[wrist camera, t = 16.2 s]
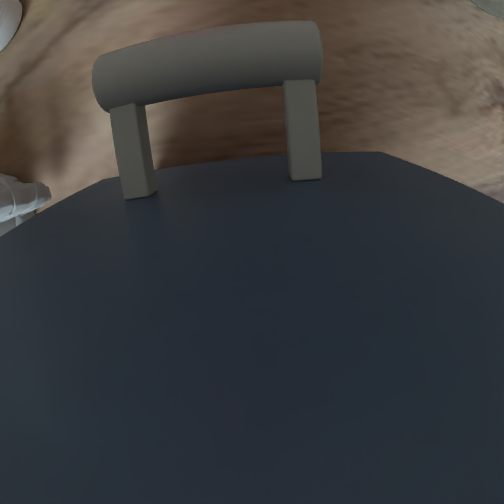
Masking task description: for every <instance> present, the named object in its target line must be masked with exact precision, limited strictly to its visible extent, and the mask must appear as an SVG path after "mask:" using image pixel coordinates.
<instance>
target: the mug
mask: <svg viewBox="0 0 504 504" xmlns="http://www.w3.org/2000/svg"><path fill="white" fill-rule="evenodd" d="M50 199H51V193H50V190H49V187H47V186H45V185H44V184H43V183H40V182H34V183H22V182H18V178H16V177H14V176H10V175H5V174H2V173H0V237H1V236H2V235H4V234H5V233H7V232H8V231H10V230H12V229H13V228H15V227H16V226H18V225H20V224H21V223H23V222H25V221H26V220H28V219H30V218H31V217H33V216H35V213H34V210H35V209H38V208H40V207H42V206H43V205H45V204H46V203H47V201H49V200H50Z"/></svg>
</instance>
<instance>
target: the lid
mask: <svg viewBox="0 0 504 504" xmlns="http://www.w3.org/2000/svg"><path fill="white" fill-rule="evenodd" d="M322 74H323V47H322V40H321V35H320V32H319V29H318V26H317V24H316V23H315V22H314V21H310V20H303V21H271V22H256V23H245V24H236V25H228V26H220V27H213V28H207V29H201V30H195V31H190V32H185V33H180V34H175V35H170V36H166V37H162V38H158V39H154V40H150V41H146V42H142V43H139V44H135V45H132V46H128V47H125V48H122V49H119V50H115V51H112V52H109V53H106V54H103V55H101V56H99V57H98V58H97V59H96V61H95V63H94V66H93V70H92V86H93V91H94V94H95V97H96V99H97V102H98V103H99V105H100V107H101V108H102V109H103V110H104V111H106V112H108V113H110V119H111V126H112V133H113V140H114V146H115V153H116V159H117V164H118V170H119V176H118V177H113V178H108V179H103V180H101V181H99V182H97V183H95V184H93V185H91V186H89V187H87V188H85V189H83V190H81V191H79V192H77V193H75V194H73V195H71V196H69V197H67V198H65V199H63V200H62V201H60V202H58V203H56V204H54V205H52V206H51V207H49V208H47V209H45V210H43V211H42V212H40V213H38V214H36V215H35V216H33V217H31V218H30V219H28V220H26V221H25V222H23V223H21V224H20V225H18V226H16V227H15V228H13V229H12V230H10V231H8V232H7V233H5V234H4V235H2V236H1V237H0V504H504V204H503V203H501V202H499V201H497V200H495V199H493V198H491V197H489V196H487V195H485V194H483V193H481V192H479V191H477V190H475V189H472V188H470V187H468V186H466V185H464V184H461V183H459V182H457V181H455V180H452V179H450V178H448V177H445V176H443V175H441V174H438V173H436V172H433V171H431V170H428V169H426V168H423V167H421V166H418V165H416V164H413V163H410V162H408V161H405V160H402V159H400V158H397V157H394V156H391V155H388V154H385V153H382V152H331V153H321V147H320V132H319V118H318V106H317V95H316V85H317V84H319V83H320V81H321V78H322ZM274 86H281V87H282V97H283V108H284V118H285V130H286V141H287V154H288V155H276V156H264V157H252V158H242V159H232V160H223V161H215V162H207V163H199V164H191V165H184V166H177V167H171V168H164V169H158V170H154V167H153V160H152V154H151V147H150V141H149V133H148V126H147V119H146V111H145V105H149V104H153V103H158V102H163V101H168V100H173V99H178V98H184V97H189V96H195V95H202V94H208V93H215V92H223V91H231V90H240V89H249V88H260V87H274Z"/></svg>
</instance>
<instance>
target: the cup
mask: <svg viewBox="0 0 504 504" xmlns="http://www.w3.org/2000/svg"><path fill="white" fill-rule="evenodd" d="M21 17H22V4H21V3H20V1H18V0H0V51H2V50H3V49H4V48H5V47H6V46H7V44H8V43H9V42H10V40H11V39H12V38H13V36H14V34H15V33H16V31H17V29H18V26H19V24H20V21H21Z"/></svg>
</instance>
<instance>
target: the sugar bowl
mask: <svg viewBox="0 0 504 504" xmlns="http://www.w3.org/2000/svg"><path fill="white" fill-rule="evenodd" d="M471 1H472V2H473V3H475V4H476V5H477V6H478V7H480V8H481V9H483V10H484V11H486V12H488V13H489V14H492V15H495V16H497V17H500V18H503V19H504V0H471Z"/></svg>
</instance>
